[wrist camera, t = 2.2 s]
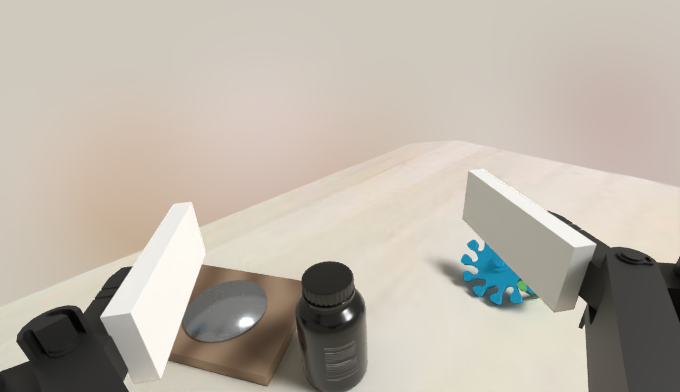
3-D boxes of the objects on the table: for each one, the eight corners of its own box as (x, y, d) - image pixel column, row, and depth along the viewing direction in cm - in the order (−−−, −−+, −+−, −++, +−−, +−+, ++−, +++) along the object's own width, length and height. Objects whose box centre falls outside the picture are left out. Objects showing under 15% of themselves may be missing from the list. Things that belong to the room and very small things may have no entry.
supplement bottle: (373, 345, 37) (373, 259, 32) (358, 404, 31) (355, 311, 26) (316, 333, 39) (307, 250, 34) (292, 386, 33) (276, 296, 28)
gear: (444, 267, 46) (491, 212, 45) (458, 277, 50) (501, 226, 50) (515, 328, 38) (573, 262, 38) (525, 333, 42) (577, 274, 42)
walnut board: (128, 349, 38) (122, 338, 38) (203, 272, 50) (201, 262, 49) (267, 386, 34) (264, 374, 33) (314, 291, 45) (313, 281, 45)
